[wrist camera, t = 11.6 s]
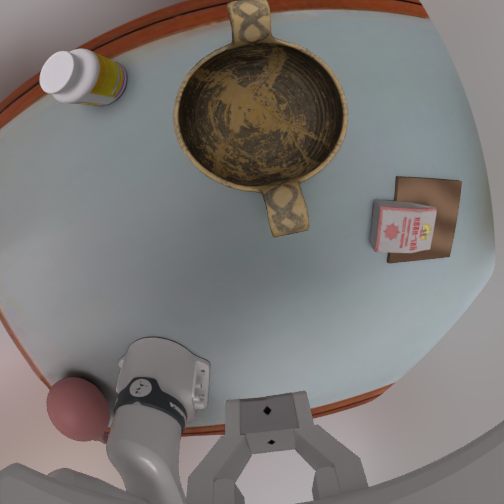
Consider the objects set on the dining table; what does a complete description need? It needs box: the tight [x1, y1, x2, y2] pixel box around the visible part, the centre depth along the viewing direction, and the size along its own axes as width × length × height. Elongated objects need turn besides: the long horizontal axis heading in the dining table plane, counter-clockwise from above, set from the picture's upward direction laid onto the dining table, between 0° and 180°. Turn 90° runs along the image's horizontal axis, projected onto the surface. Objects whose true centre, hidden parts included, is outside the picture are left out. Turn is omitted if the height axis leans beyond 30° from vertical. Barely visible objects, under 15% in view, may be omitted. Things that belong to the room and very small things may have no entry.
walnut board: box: [387, 176, 462, 263], centre depth 40 cm, size 14×14×1 cm
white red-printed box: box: [370, 200, 437, 253], centre depth 38 cm, size 4×7×10 cm
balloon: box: [47, 377, 110, 444], centre depth 48 cm, size 15×20×15 cm
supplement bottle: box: [40, 49, 126, 106], centre depth 24 cm, size 7×7×13 cm
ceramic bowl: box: [173, 0, 348, 237], centre depth 27 cm, size 22×17×15 cm
